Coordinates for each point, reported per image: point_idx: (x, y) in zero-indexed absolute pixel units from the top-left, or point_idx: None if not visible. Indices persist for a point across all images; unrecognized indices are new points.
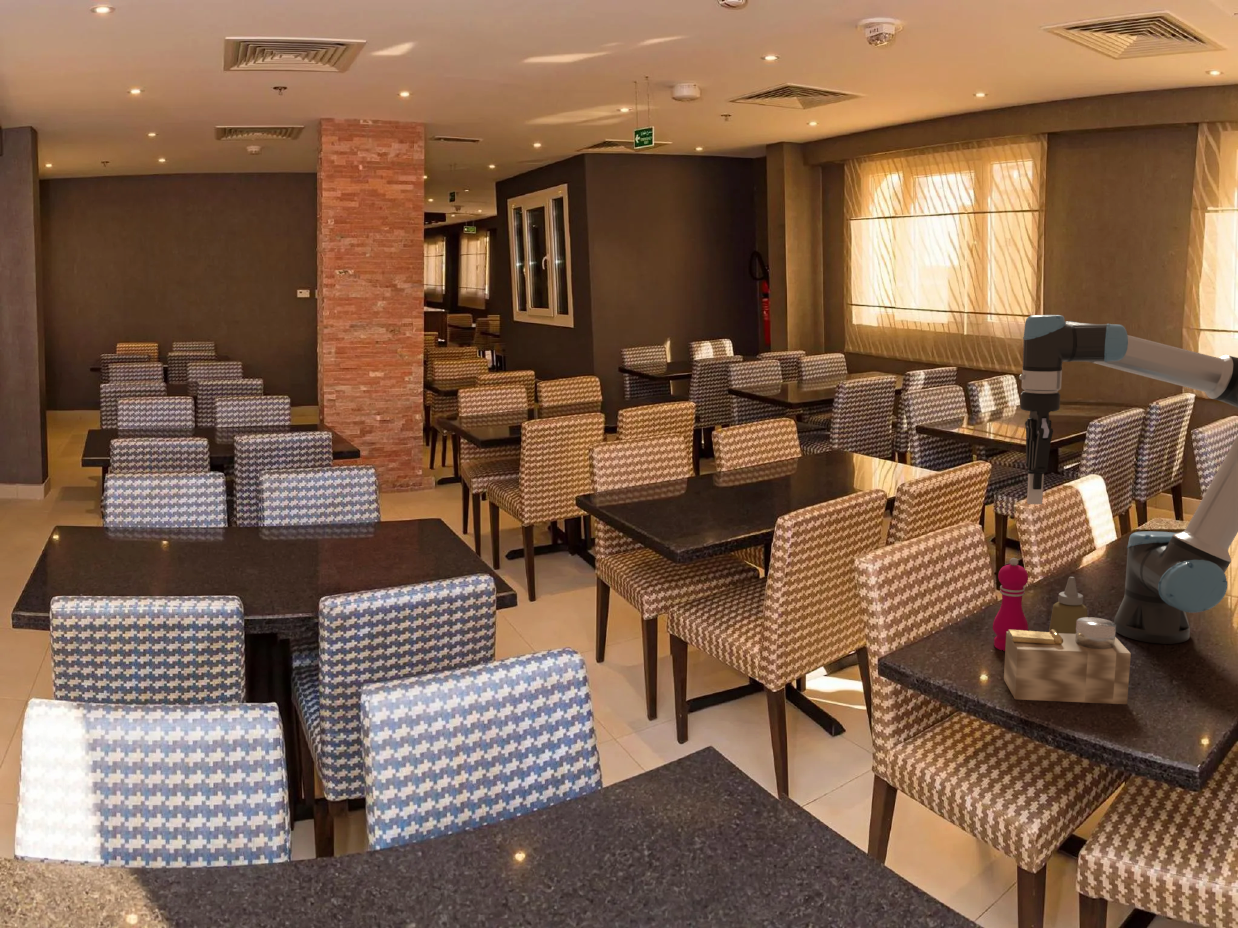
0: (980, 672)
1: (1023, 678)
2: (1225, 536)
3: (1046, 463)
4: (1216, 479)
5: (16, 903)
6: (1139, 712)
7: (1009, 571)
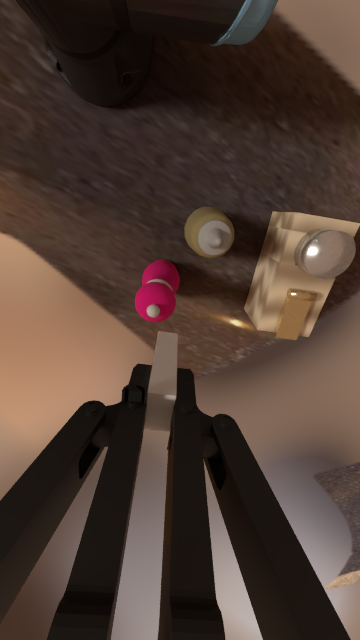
0: (225, 321)
1: None
2: None
3: (251, 459)
4: None
5: (346, 585)
6: (343, 217)
7: (167, 316)
